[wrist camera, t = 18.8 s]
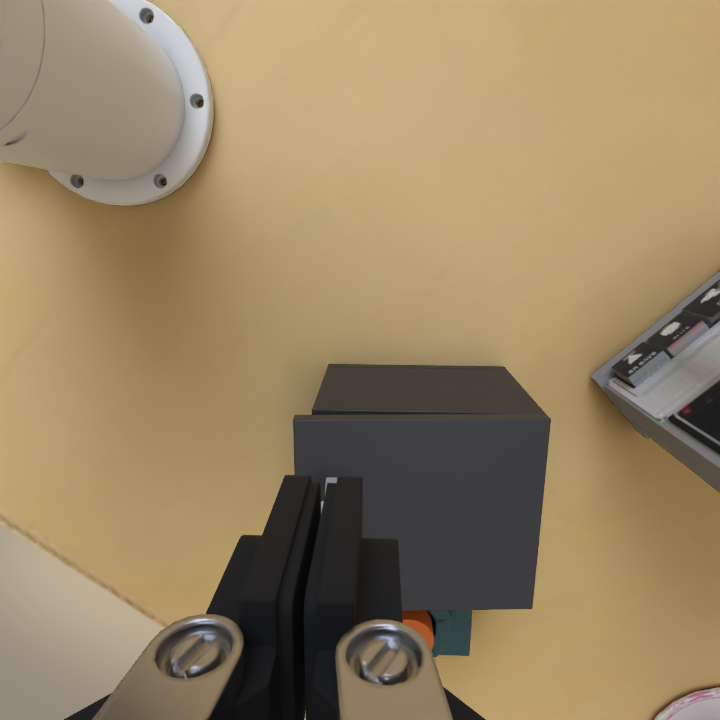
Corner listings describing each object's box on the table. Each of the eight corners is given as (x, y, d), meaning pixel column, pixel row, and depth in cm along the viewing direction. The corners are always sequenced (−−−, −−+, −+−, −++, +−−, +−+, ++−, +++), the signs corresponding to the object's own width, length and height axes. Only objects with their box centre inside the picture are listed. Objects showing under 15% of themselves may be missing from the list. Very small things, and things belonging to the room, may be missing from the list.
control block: (343, 631, 44) (339, 670, 40) (342, 545, 42) (339, 578, 38) (464, 635, 44) (473, 674, 40) (470, 548, 42) (479, 582, 38)
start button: (382, 643, 40) (382, 661, 38) (383, 602, 39) (383, 619, 37) (430, 644, 40) (433, 663, 38) (432, 603, 39) (435, 620, 37)
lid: (299, 603, 31) (290, 678, 26) (294, 414, 28) (283, 456, 23) (527, 599, 31) (563, 673, 26) (545, 413, 29) (589, 454, 23)
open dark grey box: (329, 508, 41) (314, 593, 32) (328, 364, 39) (311, 409, 29) (493, 512, 41) (528, 599, 31) (504, 366, 38) (546, 413, 29)
